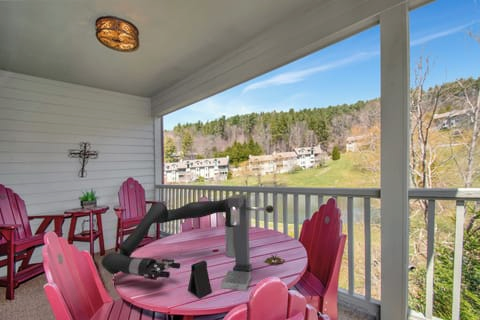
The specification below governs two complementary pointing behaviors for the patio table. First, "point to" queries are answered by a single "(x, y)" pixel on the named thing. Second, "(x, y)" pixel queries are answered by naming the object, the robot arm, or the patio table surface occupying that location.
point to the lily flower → (274, 260)
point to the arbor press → (241, 243)
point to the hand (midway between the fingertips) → (174, 270)
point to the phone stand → (199, 280)
